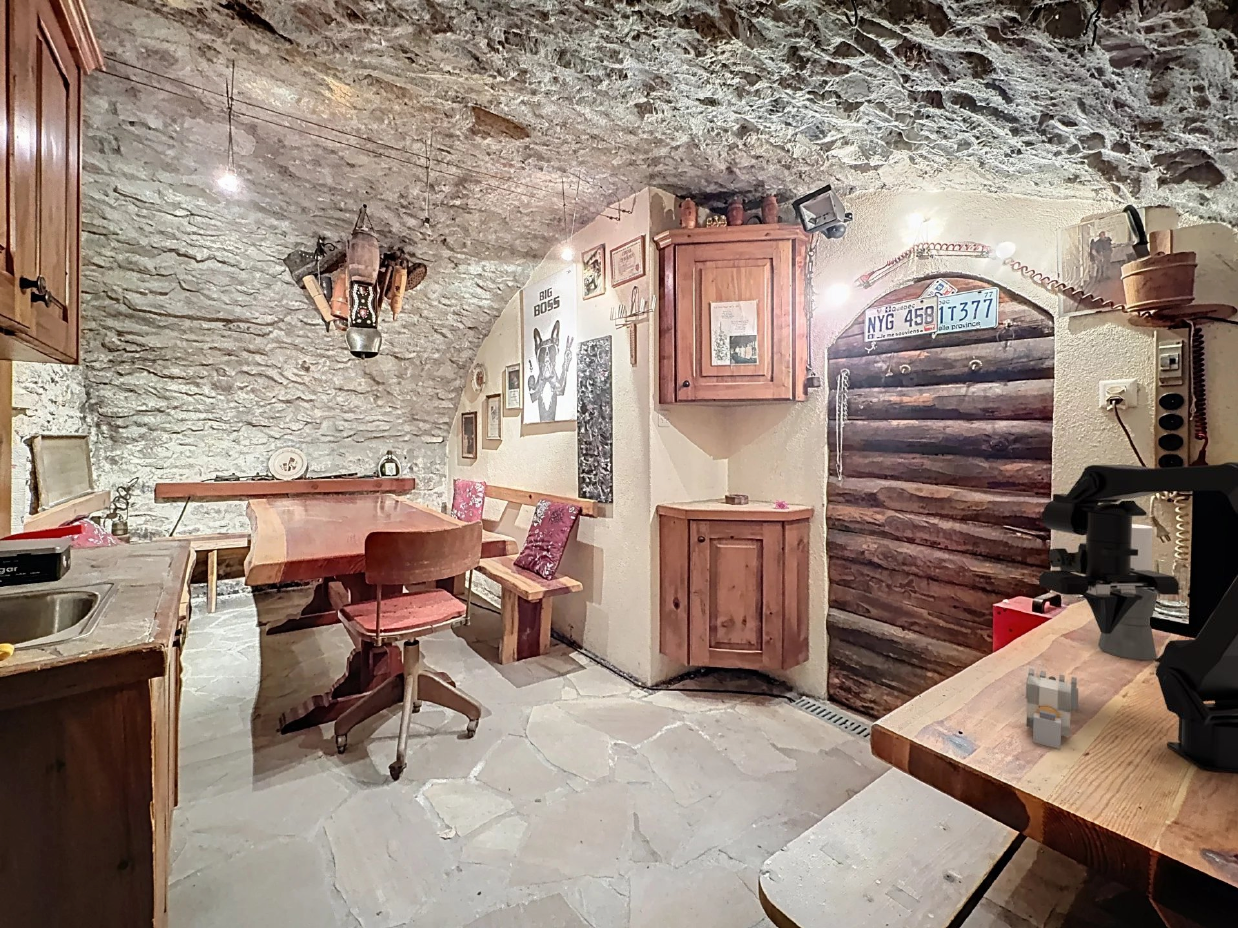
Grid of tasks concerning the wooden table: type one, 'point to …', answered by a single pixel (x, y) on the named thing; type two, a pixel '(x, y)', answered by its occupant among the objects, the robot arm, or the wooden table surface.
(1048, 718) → the cord rig
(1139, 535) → the cylindrical container
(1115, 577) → the robot arm
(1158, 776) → the wooden table surface
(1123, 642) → the coffeepot
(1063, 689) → the sleeve
